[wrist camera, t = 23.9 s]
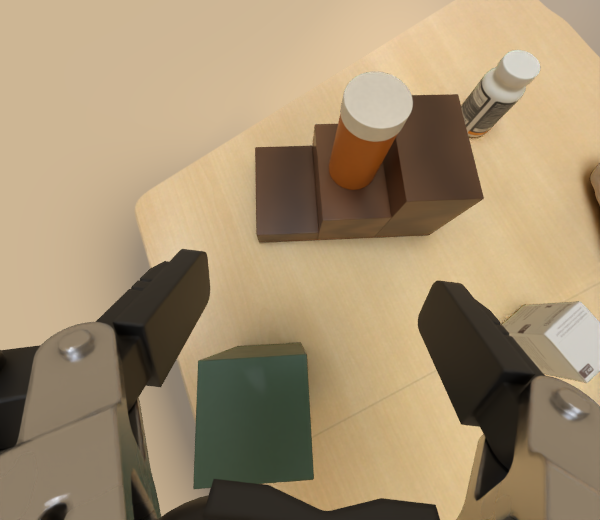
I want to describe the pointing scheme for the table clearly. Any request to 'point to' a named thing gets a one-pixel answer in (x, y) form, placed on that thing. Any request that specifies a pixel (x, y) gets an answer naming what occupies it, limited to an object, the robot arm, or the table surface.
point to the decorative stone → (596, 181)
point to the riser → (383, 188)
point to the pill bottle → (498, 91)
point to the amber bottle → (367, 127)
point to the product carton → (559, 338)
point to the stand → (253, 416)
